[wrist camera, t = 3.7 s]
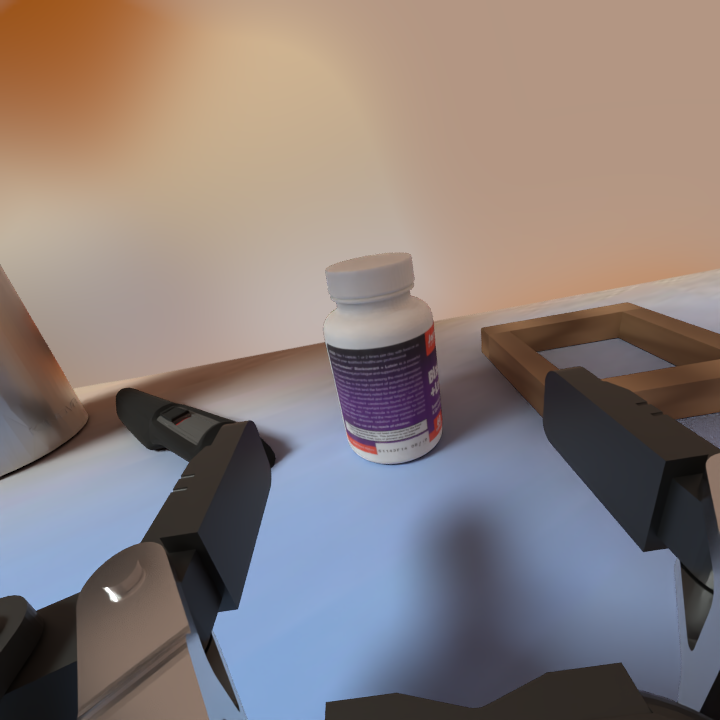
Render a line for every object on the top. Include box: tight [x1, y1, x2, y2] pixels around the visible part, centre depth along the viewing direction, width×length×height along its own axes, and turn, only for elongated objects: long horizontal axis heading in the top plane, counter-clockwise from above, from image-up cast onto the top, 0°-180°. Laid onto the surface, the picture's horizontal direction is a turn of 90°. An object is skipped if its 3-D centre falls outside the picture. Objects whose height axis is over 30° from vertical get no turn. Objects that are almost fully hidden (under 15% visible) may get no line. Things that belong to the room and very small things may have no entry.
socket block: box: [481, 302, 720, 419], centre depth 22 cm, size 11×11×2 cm
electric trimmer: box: [116, 388, 275, 468], centre depth 22 cm, size 4×16×3 cm, turn 53°
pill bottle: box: [323, 253, 442, 464], centre depth 18 cm, size 5×5×10 cm
